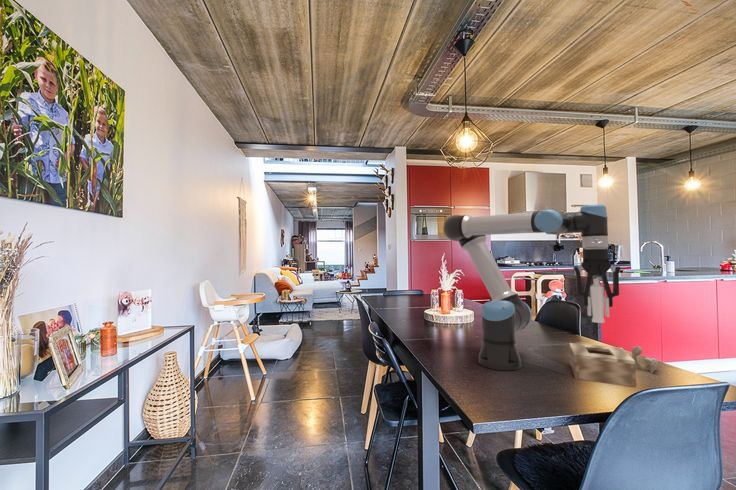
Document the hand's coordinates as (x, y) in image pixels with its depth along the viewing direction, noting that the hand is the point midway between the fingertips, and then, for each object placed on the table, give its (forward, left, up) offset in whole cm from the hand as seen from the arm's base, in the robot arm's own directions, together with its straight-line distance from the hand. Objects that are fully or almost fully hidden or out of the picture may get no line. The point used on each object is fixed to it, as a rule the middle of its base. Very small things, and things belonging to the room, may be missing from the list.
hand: (598, 315), depth 111 cm
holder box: (0, 0, -20) cm, 20 cm away
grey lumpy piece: (+16, +12, -20) cm, 29 cm away
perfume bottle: (0, 0, -2) cm, 2 cm away
